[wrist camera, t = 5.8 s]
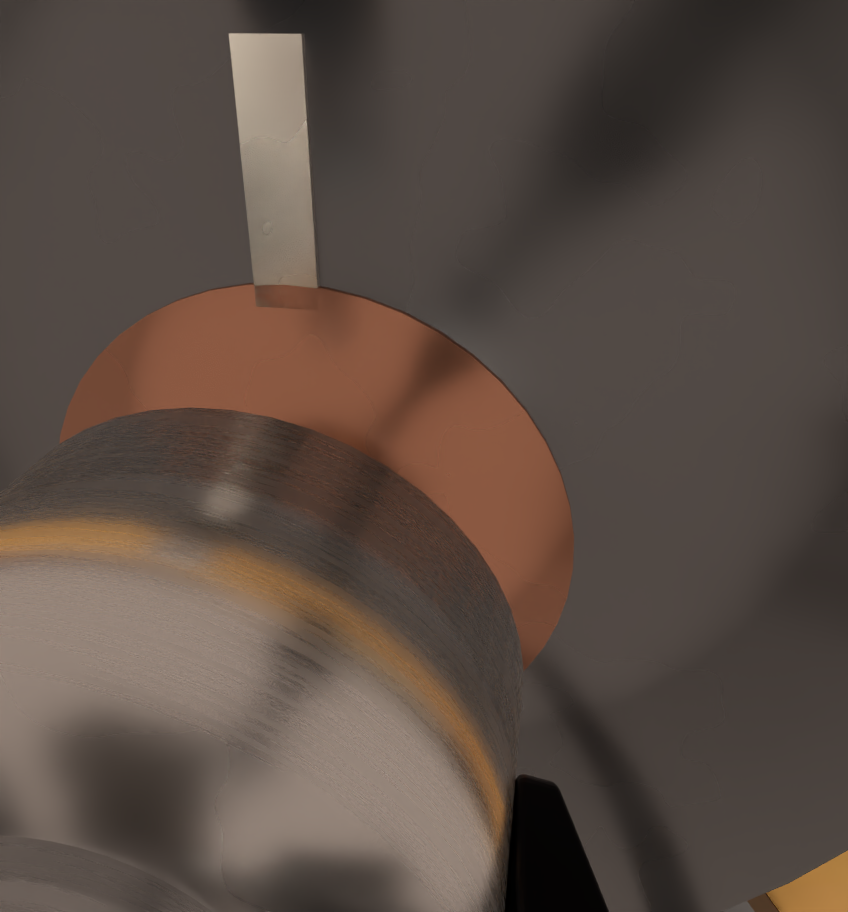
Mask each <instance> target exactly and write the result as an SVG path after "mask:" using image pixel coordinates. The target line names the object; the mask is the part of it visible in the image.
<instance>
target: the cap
mask: <svg viewBox="0 0 848 912" xmlns="http://www.w3.org/2000/svg"><path fill="white" fill-rule="evenodd" d="M522 687H523V661H522V653H521V644H520V638H519V635H518V631H517V628H516V625H515V621H514V618H513V614H512V611H511V608H510V606H509V604H508V602H507V600H506V597H505V595H504V593H503V591H502V589H501V587H500V584H499V582H498V580H497V578H496V577H495V575H494V574H493V572H492V571H491V569H490V567H489V566H488V564H487V563H486V561H485V560H484V558H483V557H482V555H481V554H480V552H479V550H478V549H477V548H476V546H475V545H474V544H473V543H472V542H471V541H470V539H469V538H468V537H467V536H466V535H465V534H464V532H463V531H462V530H461V529H460V528H459V526H458V525H457V524H456V523H455V522H454V521H453V519H452V518H450V517H449V516H448V515H447V514H446V513H445V512H444V511H443V510H442V509H441V508H440V507H439V506H437V505H436V504H435V503H434V502H433V501H432V500H431V499H430V498H429V497H428V496H427V495H425V494H424V493H423V492H422V491H421V490H419V489H418V488H417V487H415V486H414V485H412V484H411V483H410V482H408V481H407V480H406V479H404V478H403V477H401V476H400V475H399V474H397V473H396V472H395V471H393V470H392V469H390V468H389V467H387V466H386V465H384V464H382V463H380V462H378V461H377V460H375V459H373V458H371V457H370V456H368V455H366V454H364V453H363V452H361V451H359V450H357V449H356V448H354V447H352V446H350V445H347V444H345V443H343V442H340V441H338V440H336V439H333V438H331V437H329V436H326V435H324V434H322V433H319V432H317V431H315V430H312V429H309V428H306V427H302V426H299V425H296V424H293V423H289V422H286V421H283V420H279V419H276V418H273V417H268V416H262V415H257V414H251V413H246V412H240V411H235V410H227V409H209V408H192V407H188V408H174V409H160V410H149V411H145V412H140V413H135V414H131V415H126V416H121V417H116V418H114V419H111V420H108V421H106V422H103V423H100V424H98V425H95V426H92V427H90V428H87V429H84V430H83V431H81V432H79V433H77V434H76V435H74V436H72V437H70V438H69V439H67V440H65V441H63V442H62V443H60V444H58V445H57V446H55V447H54V448H53V449H52V450H51V451H49V452H48V453H47V454H46V455H45V456H43V457H42V458H41V459H40V460H39V461H37V462H36V463H35V464H34V465H33V466H31V467H30V468H29V469H28V470H27V471H25V472H24V473H23V474H22V475H21V476H19V477H18V478H17V479H16V480H15V481H13V482H12V483H11V484H10V485H9V486H7V487H6V488H5V489H4V490H3V491H1V492H0V912H505V905H506V892H507V880H508V867H509V854H510V842H511V829H512V816H513V804H514V791H515V778H516V766H517V753H518V741H519V728H520V715H521V703H522Z"/></svg>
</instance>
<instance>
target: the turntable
mask: <svg viewBox="0 0 848 912" xmlns="http://www.w3.org/2000/svg"><path fill="white" fill-rule="evenodd" d="M188 407H192V408H209V409H227V410H235V411H240V412H246V413H251V414H257V415H262V416H268V417H273V418H276V419H279V420H283V421H286V422H289V423H293V424H296V425H299V426H302V427H306V428H309V429H312V430H315V431H317V432H319V433H322V434H324V435H326V436H329V437H331V438H333V439H336V440H338V441H340V442H343V443H345V444H347V445H350V446H352V447H354V448H356V449H357V450H359V451H361V452H363V453H364V454H366V455H368V456H370V457H371V458H373V459H375V460H377V461H378V462H380V463H382V464H384V465H386V466H387V467H389V468H390V469H392V470H393V471H395V472H396V473H397V474H399V475H400V476H401V477H403V478H404V479H406V480H407V481H408V482H410V483H411V484H412V485H414V486H415V487H417V488H418V489H419V490H421V491H422V492H423V493H424V494H425V495H427V496H428V497H429V498H430V499H431V500H432V501H433V502H434V503H435V504H436V505H437V506H439V507H440V508H441V509H442V510H443V511H444V512H445V513H446V514H447V515H448V516H449V517H450V518H452V519H453V521H454V522H455V523H456V524H457V525H458V526H459V528H460V529H461V530H462V531H463V532H464V534H465V535H466V536H467V537H468V538H469V539H470V541H471V542H472V543H473V544H474V545H475V546H476V548H477V549H478V550H479V552H480V554H481V555H482V557H483V558H484V560H485V561H486V563H487V564H488V566H489V567H490V569H491V571H492V572H493V574H494V575H495V577H496V578H497V580H498V582H499V584H500V587H501V589H502V591H503V593H504V595H505V597H506V600H507V602H508V604H509V606H510V608H511V611H512V614H513V618H514V621H515V625H516V628H517V631H518V635H519V638H520V644H521V653H522V661H523V687H522V703H521V715H520V728H519V741H518V753H517V766H516V778H517V777H518V776H519V775H521V774H526V775H530V776H534V777H537V778H541V779H545V780H549V781H552V782H554V783H555V784H556V785H557V786H558V788H559V789H560V792H561V794H562V796H563V799H564V801H565V804H566V806H567V809H568V811H569V813H570V816H571V818H572V821H573V823H574V826H575V828H576V831H577V833H578V836H579V838H580V841H581V843H582V846H583V848H584V851H585V853H586V855H587V858H588V860H589V863H590V865H591V868H592V870H593V873H594V875H595V878H596V880H597V883H598V885H599V888H600V890H601V893H602V895H603V898H604V900H605V902H606V905H607V907H608V910H609V912H721V911H724V910H726V909H729V908H731V907H734V906H736V905H738V904H741V903H743V902H745V901H748V900H750V899H752V898H755V897H757V896H760V895H762V894H764V893H767V892H769V891H771V890H774V889H776V888H779V887H781V886H783V885H786V884H788V883H790V882H792V881H794V880H795V879H797V878H799V877H801V876H802V875H804V874H806V873H808V872H810V871H811V870H813V869H815V868H817V867H819V866H820V865H822V864H824V863H826V862H828V861H829V860H831V859H833V858H835V857H837V856H838V855H840V854H842V853H844V852H845V851H847V850H848V0H0V492H1V491H3V490H4V489H5V488H6V487H7V486H9V485H10V484H11V483H12V482H13V481H15V480H16V479H17V478H18V477H19V476H21V475H22V474H23V473H24V472H25V471H27V470H28V469H29V468H30V467H31V466H33V465H34V464H35V463H36V462H37V461H39V460H40V459H41V458H42V457H43V456H45V455H46V454H47V453H48V452H49V451H51V450H52V449H53V448H54V447H55V446H57V445H58V444H60V443H62V442H63V441H65V440H67V439H69V438H70V437H72V436H74V435H76V434H77V433H79V432H81V431H83V430H84V429H87V428H90V427H92V426H95V425H98V424H100V423H103V422H106V421H108V420H111V419H114V418H116V417H121V416H126V415H131V414H135V413H140V412H145V411H149V410H160V409H174V408H188ZM516 778H515V779H516Z"/></svg>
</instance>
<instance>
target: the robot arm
mask: <svg viewBox="0 0 848 912" xmlns="http://www.w3.org/2000/svg"><path fill="white" fill-rule="evenodd" d="M505 912H609V910H608V907H607V905H606V902H605V900H604V898H603V895H602V893H601V890H600V888H599V885H598V883H597V880H596V878H595V875H594V873H593V870H592V868H591V865H590V863H589V860H588V858H587V855H586V853H585V851H584V848H583V846H582V843H581V841H580V838H579V836H578V833H577V831H576V828H575V826H574V823H573V821H572V818H571V816H570V813H569V811H568V809H567V806H566V804H565V801H564V799H563V796H562V794H561V792H560V789H559V788H558V786H557V785H556V784H555V783H554V782H552V781H549V780H545V779H541V778H537V777H534V776H530V775H526V774H521V775H519V776H518V777H517V778H516V779H515V791H514V804H513V816H512V829H511V842H510V854H509V867H508V880H507V892H506V905H505Z"/></svg>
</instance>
